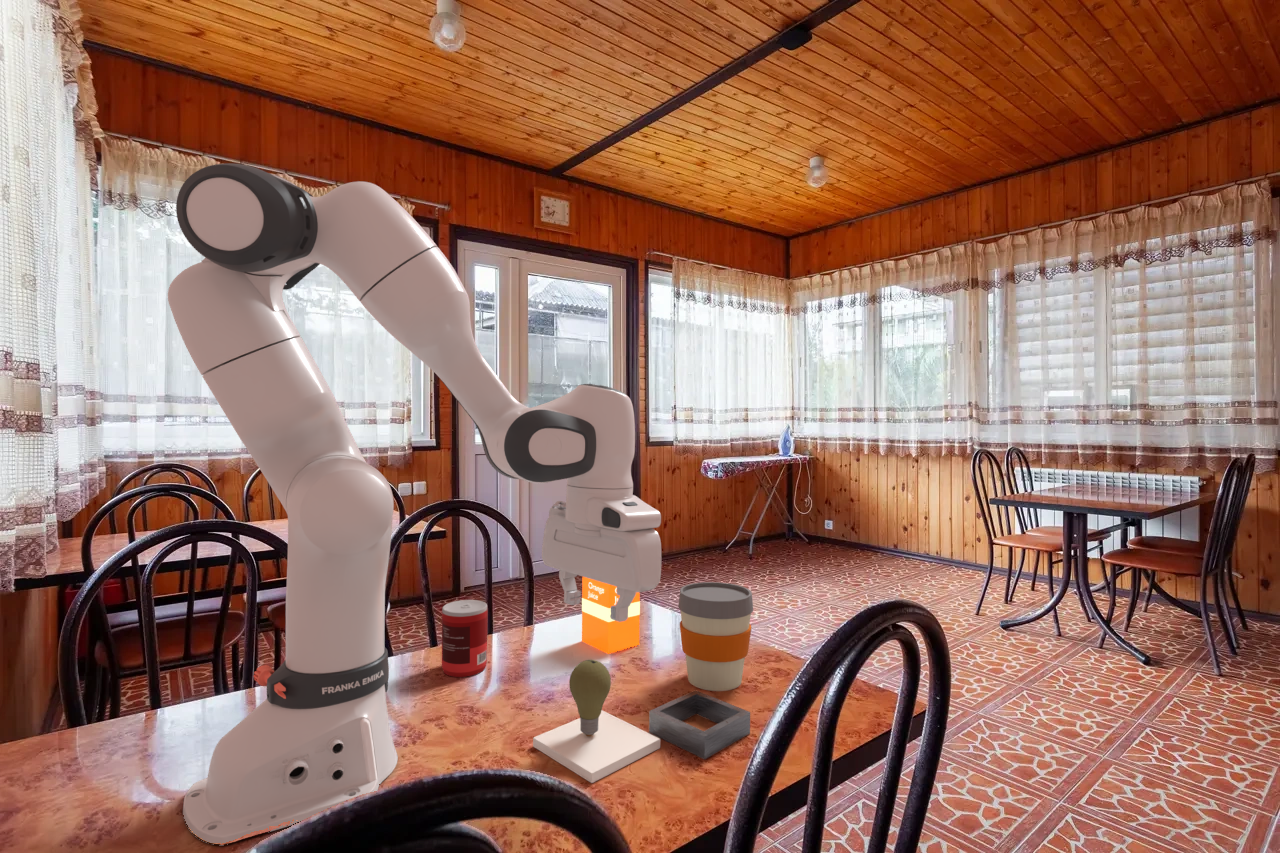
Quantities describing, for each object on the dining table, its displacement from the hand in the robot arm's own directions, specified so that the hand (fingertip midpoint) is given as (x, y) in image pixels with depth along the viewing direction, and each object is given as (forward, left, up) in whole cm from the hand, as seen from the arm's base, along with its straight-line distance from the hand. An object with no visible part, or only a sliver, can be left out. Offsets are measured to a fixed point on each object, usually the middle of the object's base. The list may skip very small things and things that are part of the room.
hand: (594, 611), depth 86 cm
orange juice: (+28, +28, -19) cm, 44 cm away
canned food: (+1, +36, -19) cm, 40 cm away
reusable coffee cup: (+29, +3, -18) cm, 35 cm away
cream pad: (0, 0, -18) cm, 18 cm away
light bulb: (0, +1, -17) cm, 17 cm away
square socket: (+13, -7, -18) cm, 24 cm away
